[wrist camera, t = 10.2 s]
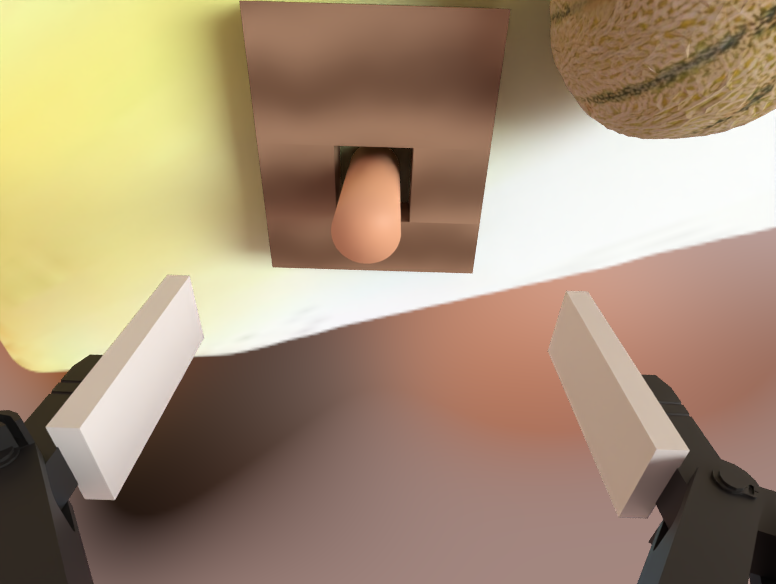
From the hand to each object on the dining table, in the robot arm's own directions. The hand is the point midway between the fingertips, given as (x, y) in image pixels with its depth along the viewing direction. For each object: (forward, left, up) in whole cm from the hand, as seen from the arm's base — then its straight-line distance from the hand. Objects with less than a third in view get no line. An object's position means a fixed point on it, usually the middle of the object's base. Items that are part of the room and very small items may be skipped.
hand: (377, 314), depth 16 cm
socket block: (0, -1, -22) cm, 23 cm away
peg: (+2, -1, -22) cm, 23 cm away
